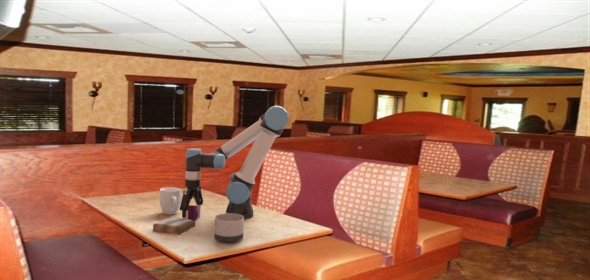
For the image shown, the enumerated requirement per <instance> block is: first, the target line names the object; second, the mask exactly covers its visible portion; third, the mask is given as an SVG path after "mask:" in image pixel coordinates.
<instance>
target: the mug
mask: <svg viewBox="0 0 590 280" xmlns="http://www.w3.org/2000/svg"><path fill="white" fill-rule="evenodd" d="M159 189H160V190H159V205H160V209H161V211H162V213H163V214H165V215H169V216H170V215H176V214H177V213H178V211H179V210H180V205H181V201H182V188H179V187H173V186H172V187H170V186H169V187H162V188H159Z"/></svg>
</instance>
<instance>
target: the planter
mask: <svg viewBox="0 0 590 280" xmlns="http://www.w3.org/2000/svg"><path fill="white" fill-rule="evenodd" d="M244 224H245V219H244V216H242V215H239V214H233V213H226V212H225V213H219V214H216V215H215V216H214V232H213V233H214V235H213V237H214V239H215V240H217V241H219V242H222V243H226V244H232V243H236V242H239V241H241V240H243V238H244Z"/></svg>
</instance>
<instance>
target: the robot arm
mask: <svg viewBox="0 0 590 280" xmlns="http://www.w3.org/2000/svg"><path fill="white" fill-rule="evenodd" d="M289 118H290V117H289V113H288V110H287V109H286V108H284V106H280V105H273V106H271V107H269V108H268V109H267V110H266V112H265V113H264V114H263V115H261V116H260V117H259V119H258V120H257V121H256V122H254V123H252V125H250V126H249V127H247V128H246V129H244V130H242V131H241V132H240V133H239V134H237V135H236V136H234V137H233V138H231V139H229V140H228V141H227V142H225V143H224V144H222V145H221V146H220V147H218V148H216V149H215V150H213V151H212V152H209V153H207V152H202V149H201V148H193V147H192V148H188V149H186V150H185V151H186V153H185V172H184V173H185V175H184V178H185V180H184V186H185V187H186V190H185V189H183V193H182V196H181V202H180V206H179V211H181V219H188V211H187V209H188V206H189V205H190V203H191V200H193V199H194V201H195V205H194V206H197V211H198V217H197V218H201V209H202V208H201V207H202V206H203V204H204V197H203V193H202V186H201V171H202V170H201V169H203V168H204V169H215V170H218V169H219V170H220V169H224V168H225V165H226V160H228V159H230V157H233V156H234V155H235V154H236V153H239V152H240V151H241V150H243V149H244V148H246V147H247V146H248V145H250V144H252V143H253V144H252V145H251V147H250V150H249V152H248V154H247V155H246V157H245V160H244V162H243V163H242V165H241V167H240V169H239V171H236V172H234V173H231V174H230V177H229V180H230V181H229V184H228V185H227V187H226V190H225V196H226V198H227V200H228V204H227V207H226V210H225V213H233V214H239V215H242V216H244V220H245V219H250V218H253V217H254V209H253V204H252V202H251V201H252V190H253V189H254V186H255V185H256V180H255V179H256V176H257V174H258V172H260V169H261V167H262V164H264V162H265V159H266V157H267V155H268V153H269V152H270V149H271V148H272V146H273V143H274V142H275V140H276V138H278V137H281V135H282V133H283V131H284V129H285V128H286V126H287V125H288V123H289Z"/></svg>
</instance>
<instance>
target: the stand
mask: <svg viewBox="0 0 590 280" xmlns="http://www.w3.org/2000/svg"><path fill="white" fill-rule="evenodd" d="M193 227H194V228H195V227H196V221H193V220H189V219H182V217H181V218H180V217H174V216H173V217H172V216H170V217H167V218H165V219H162V220H161V221H158V222H156V223H153V224H152V232H158V233H159V232H160V233H165V234H171V235H178V236H179V235H183V234H184V233H186V232H188V231H190V230H191V228H192V229H193ZM189 229H190V230H189Z"/></svg>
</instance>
